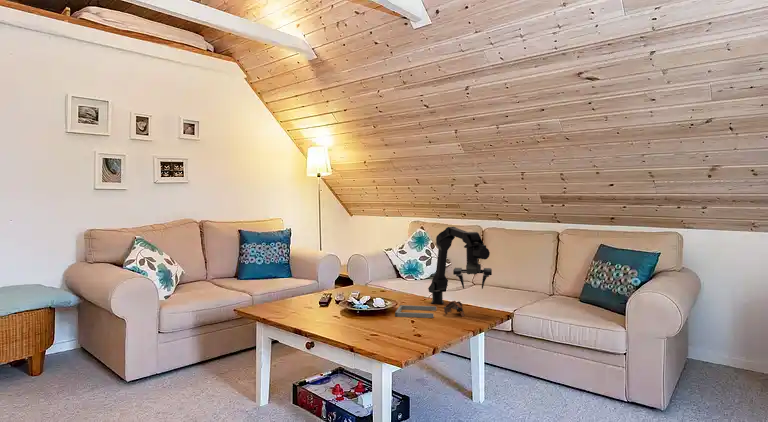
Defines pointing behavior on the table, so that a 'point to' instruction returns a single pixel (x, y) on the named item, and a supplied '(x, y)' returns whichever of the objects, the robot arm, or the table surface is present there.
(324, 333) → the table surface
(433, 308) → the grey u-shaped frame
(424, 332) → the table surface
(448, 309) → the brown arched figure
